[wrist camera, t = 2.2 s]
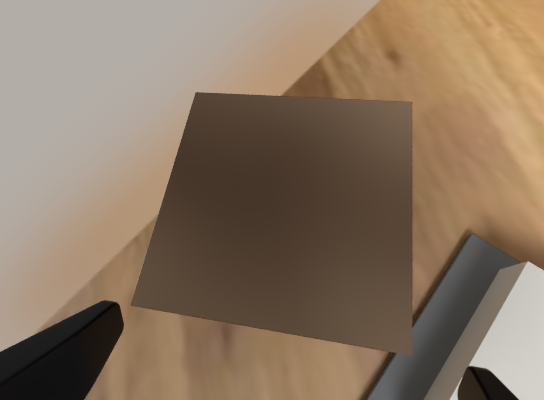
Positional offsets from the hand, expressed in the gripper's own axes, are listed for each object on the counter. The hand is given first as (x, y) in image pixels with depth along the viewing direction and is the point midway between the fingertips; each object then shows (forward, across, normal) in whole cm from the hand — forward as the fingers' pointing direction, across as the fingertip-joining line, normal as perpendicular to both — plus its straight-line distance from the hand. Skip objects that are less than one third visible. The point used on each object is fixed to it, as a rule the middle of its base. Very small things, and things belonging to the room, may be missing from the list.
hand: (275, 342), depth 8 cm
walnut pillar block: (+9, 0, +5) cm, 10 cm away
